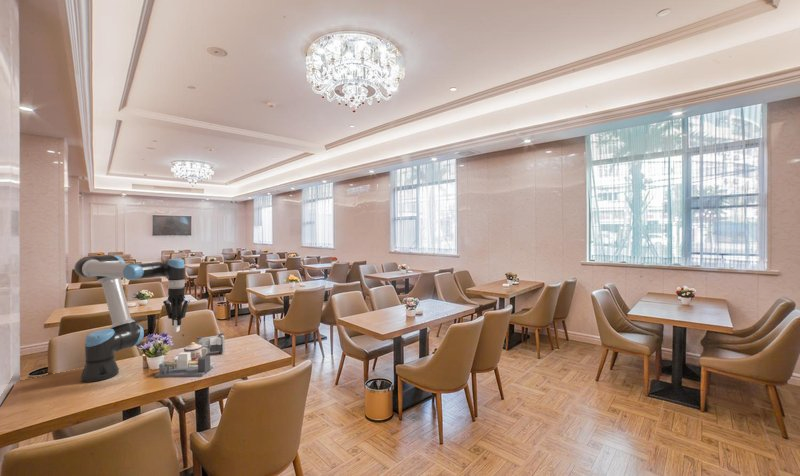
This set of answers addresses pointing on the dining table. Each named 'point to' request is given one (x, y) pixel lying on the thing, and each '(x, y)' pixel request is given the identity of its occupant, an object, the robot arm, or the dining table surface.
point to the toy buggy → (212, 344)
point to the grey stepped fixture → (185, 372)
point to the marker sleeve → (183, 360)
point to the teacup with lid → (195, 351)
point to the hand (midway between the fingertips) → (176, 331)
